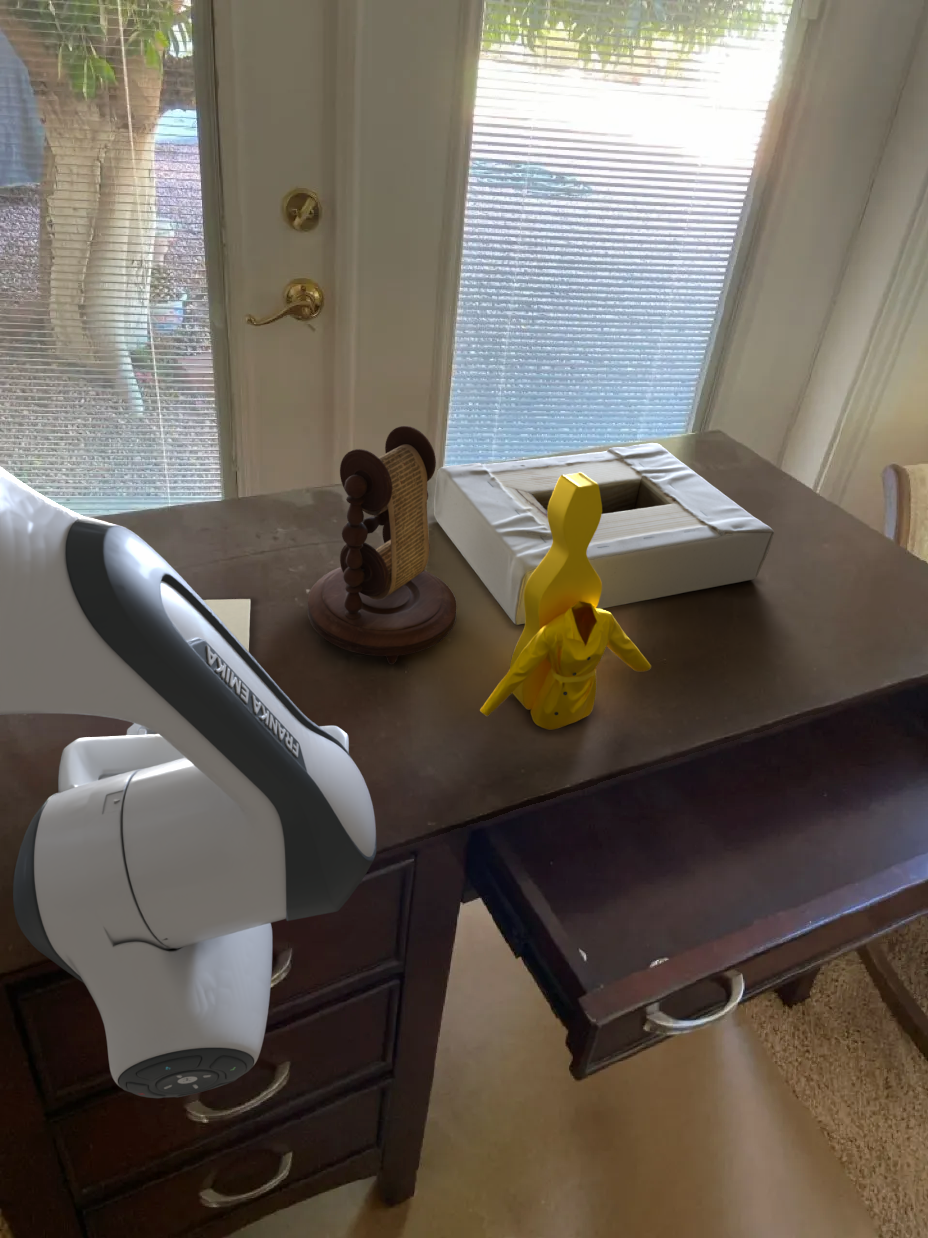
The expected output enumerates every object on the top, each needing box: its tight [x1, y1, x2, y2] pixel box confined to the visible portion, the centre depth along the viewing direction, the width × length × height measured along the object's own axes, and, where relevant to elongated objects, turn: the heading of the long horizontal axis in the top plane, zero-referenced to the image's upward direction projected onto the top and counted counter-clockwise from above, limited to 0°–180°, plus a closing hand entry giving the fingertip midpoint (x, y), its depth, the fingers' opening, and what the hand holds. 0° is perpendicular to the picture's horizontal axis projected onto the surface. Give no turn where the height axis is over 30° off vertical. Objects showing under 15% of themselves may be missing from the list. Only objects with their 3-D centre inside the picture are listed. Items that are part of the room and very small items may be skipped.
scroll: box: [307, 425, 458, 665], centre depth 84 cm, size 15×15×20 cm
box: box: [433, 442, 775, 626], centre depth 103 cm, size 23×8×32 cm
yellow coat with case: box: [479, 472, 652, 731], centre depth 75 cm, size 18×8×22 cm, turn 117°
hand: (215, 704), depth 70 cm, fingers open, 7 cm apart
